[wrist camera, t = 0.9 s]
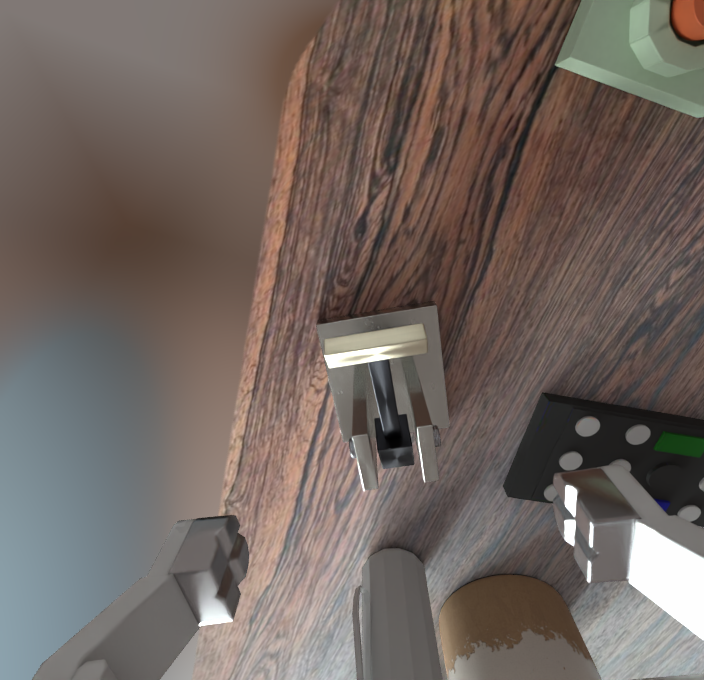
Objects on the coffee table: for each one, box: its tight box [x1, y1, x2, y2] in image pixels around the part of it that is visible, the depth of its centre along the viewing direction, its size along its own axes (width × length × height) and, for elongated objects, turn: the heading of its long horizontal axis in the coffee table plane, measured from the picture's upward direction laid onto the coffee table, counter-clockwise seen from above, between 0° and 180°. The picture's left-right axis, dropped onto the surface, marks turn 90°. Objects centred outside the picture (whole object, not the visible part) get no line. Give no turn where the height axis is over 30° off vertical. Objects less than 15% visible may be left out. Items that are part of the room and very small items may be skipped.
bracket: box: [316, 301, 450, 490], centre depth 31 cm, size 12×10×12 cm
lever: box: [324, 323, 428, 469], centre depth 24 cm, size 12×5×2 cm, turn 11°
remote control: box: [503, 393, 704, 527], centre depth 39 cm, size 11×30×2 cm, turn 80°
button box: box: [555, 0, 704, 118], centre depth 24 cm, size 11×8×4 cm
